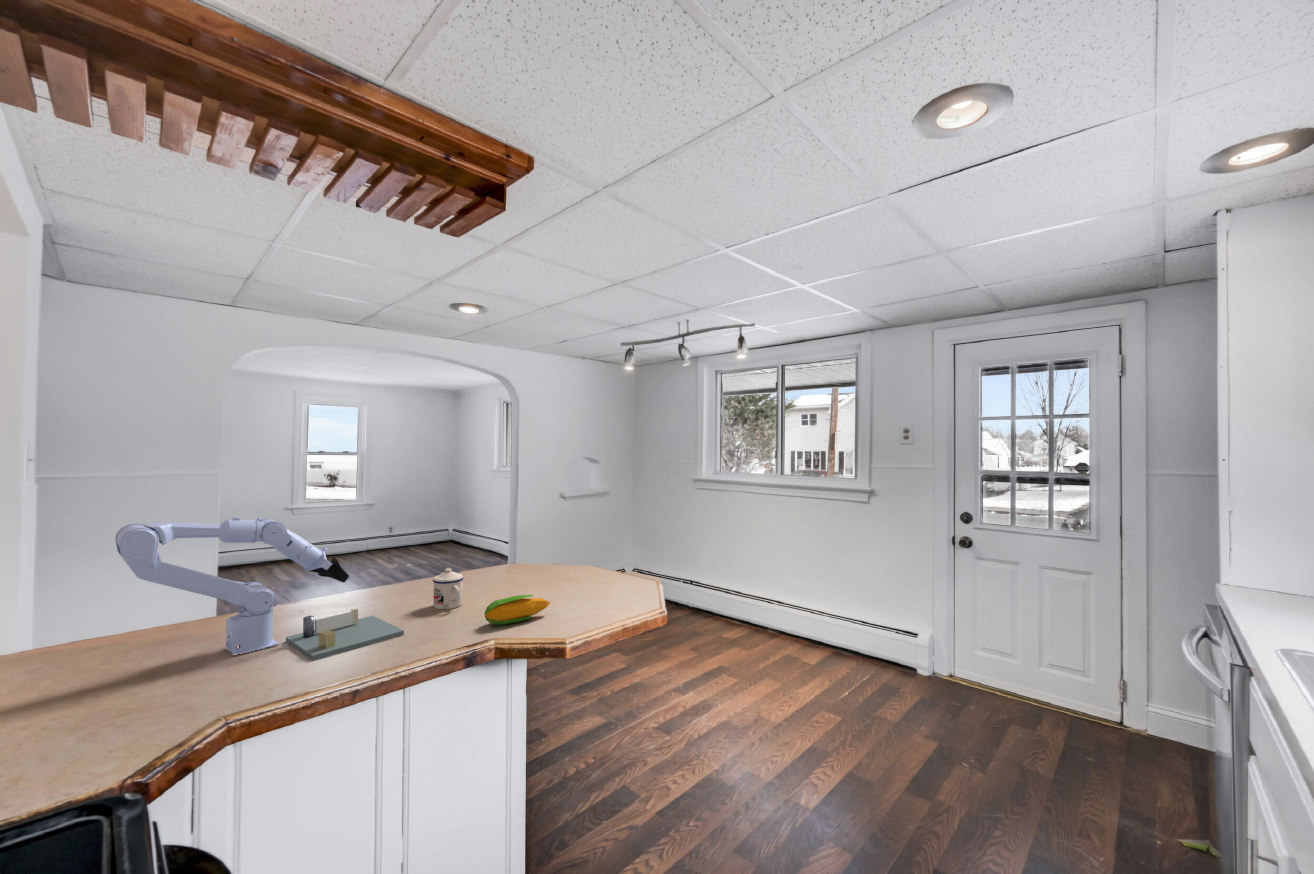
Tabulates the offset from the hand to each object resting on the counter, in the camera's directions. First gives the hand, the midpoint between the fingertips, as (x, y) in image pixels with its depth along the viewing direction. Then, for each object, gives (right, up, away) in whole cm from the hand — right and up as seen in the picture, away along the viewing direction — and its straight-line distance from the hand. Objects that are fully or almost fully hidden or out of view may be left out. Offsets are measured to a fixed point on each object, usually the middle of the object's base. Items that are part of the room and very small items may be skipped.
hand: (341, 577), depth 154 cm
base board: (+7, -14, -9) cm, 18 cm away
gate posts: (+3, -13, -14) cm, 19 cm away
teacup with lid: (+24, -14, +18) cm, 33 cm away
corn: (+49, -14, +6) cm, 51 cm away
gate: (+2, -12, -6) cm, 14 cm away
